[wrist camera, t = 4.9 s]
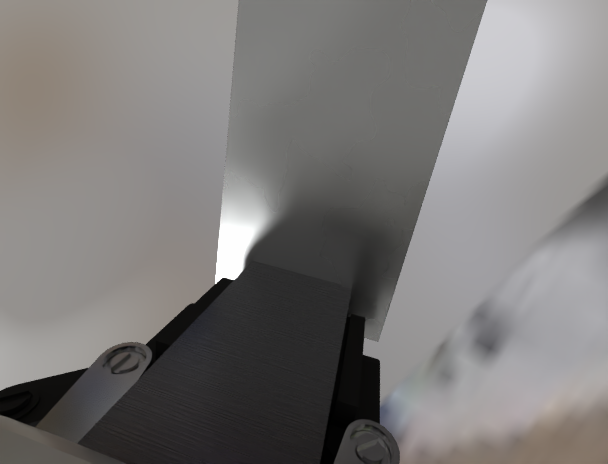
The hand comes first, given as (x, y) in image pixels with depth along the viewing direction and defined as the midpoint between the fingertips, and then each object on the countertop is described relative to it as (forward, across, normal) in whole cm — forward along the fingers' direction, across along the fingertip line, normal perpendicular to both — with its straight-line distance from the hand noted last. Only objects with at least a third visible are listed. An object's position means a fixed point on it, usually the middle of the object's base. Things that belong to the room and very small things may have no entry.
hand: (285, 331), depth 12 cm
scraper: (+2, 0, -6) cm, 6 cm away
